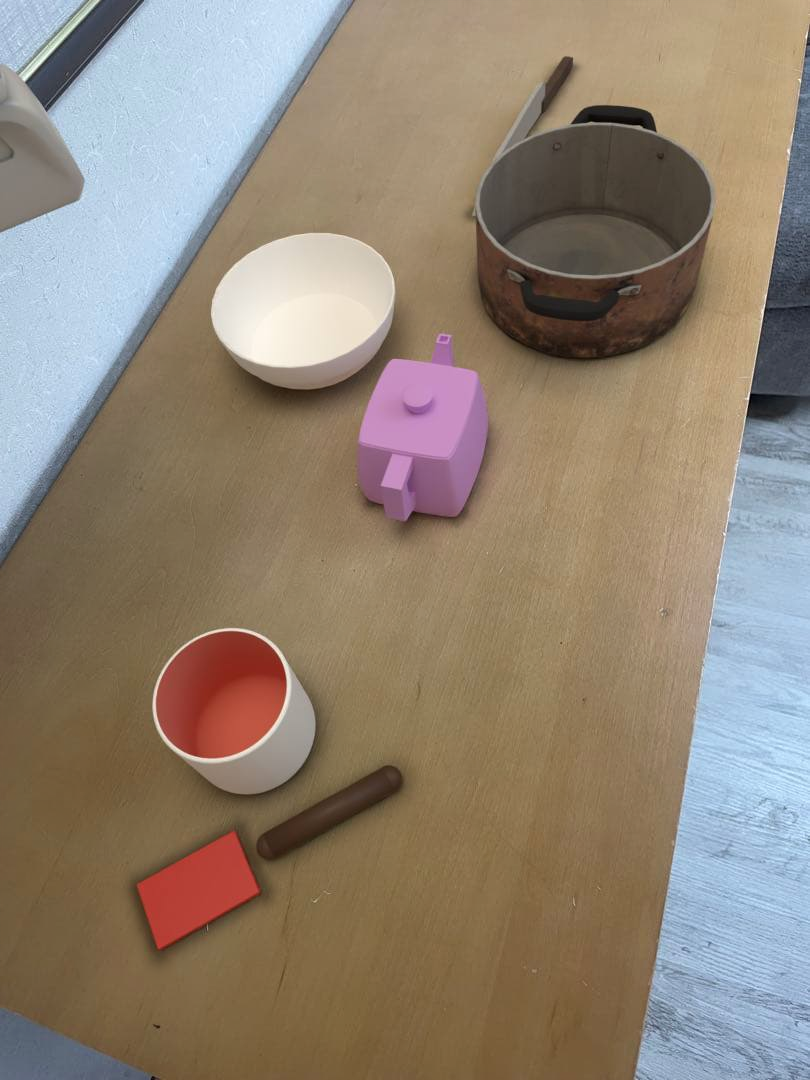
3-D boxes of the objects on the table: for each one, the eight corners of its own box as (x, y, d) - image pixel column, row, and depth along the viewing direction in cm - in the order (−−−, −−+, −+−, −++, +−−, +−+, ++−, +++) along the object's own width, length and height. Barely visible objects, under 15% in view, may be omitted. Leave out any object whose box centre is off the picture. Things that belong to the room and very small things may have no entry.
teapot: (402, 380, 85) (390, 305, 76) (505, 396, 83) (504, 320, 74) (346, 529, 77) (324, 464, 68) (457, 552, 75) (451, 488, 66)
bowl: (199, 388, 88) (175, 339, 81) (283, 270, 95) (268, 216, 89) (355, 438, 82) (342, 389, 76) (431, 308, 90) (425, 254, 84)
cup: (178, 715, 70) (131, 670, 61) (286, 655, 71) (255, 603, 63) (225, 823, 65) (182, 791, 56) (340, 756, 66) (315, 714, 58)
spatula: (160, 950, 61) (150, 948, 59) (139, 885, 63) (128, 881, 61) (417, 804, 64) (414, 798, 62) (387, 747, 66) (383, 740, 65)
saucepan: (512, 179, 99) (512, 92, 90) (710, 198, 94) (731, 107, 85) (446, 372, 85) (438, 292, 76) (673, 407, 80) (694, 325, 71)
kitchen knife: (566, 38, 106) (468, 182, 93) (574, 40, 106) (477, 184, 93) (563, 72, 110) (469, 215, 97) (572, 73, 109) (478, 217, 96)
